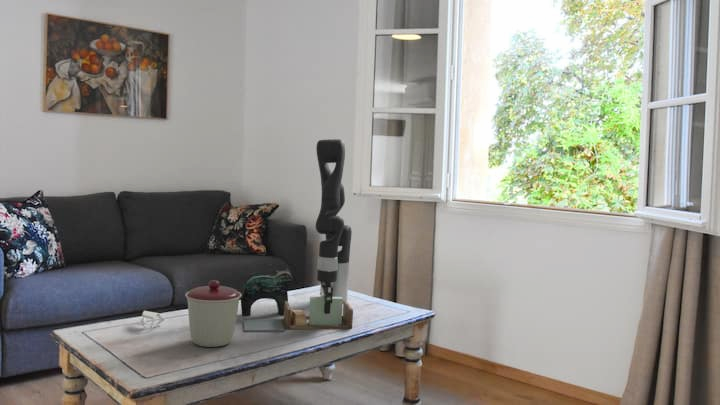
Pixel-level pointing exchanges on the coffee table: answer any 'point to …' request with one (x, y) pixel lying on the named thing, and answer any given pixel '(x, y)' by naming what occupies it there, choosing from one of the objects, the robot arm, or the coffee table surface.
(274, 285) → the green animal sculpture
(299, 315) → the offcut block
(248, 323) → the rubber mat
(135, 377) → the coffee table surface
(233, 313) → the canister
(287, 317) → the walnut rack
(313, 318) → the pale green block
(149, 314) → the origami figure
